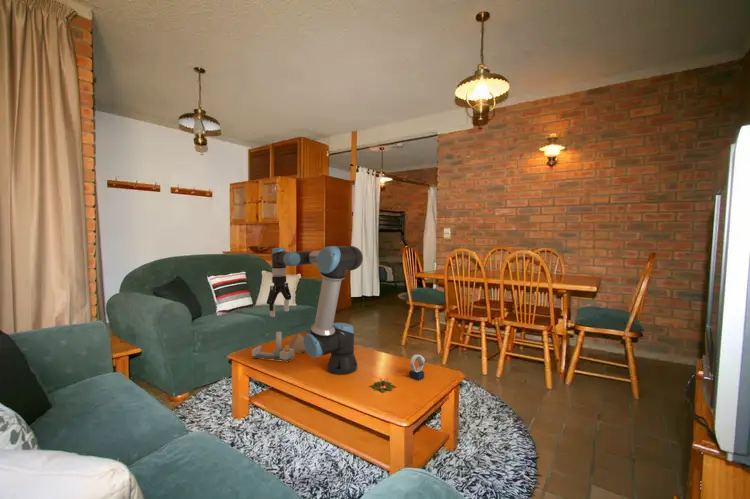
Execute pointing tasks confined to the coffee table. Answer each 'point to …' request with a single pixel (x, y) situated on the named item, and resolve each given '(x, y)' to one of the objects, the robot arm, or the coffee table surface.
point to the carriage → (278, 344)
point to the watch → (417, 373)
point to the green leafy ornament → (382, 383)
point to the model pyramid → (297, 344)
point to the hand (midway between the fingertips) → (279, 313)
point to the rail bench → (283, 354)
